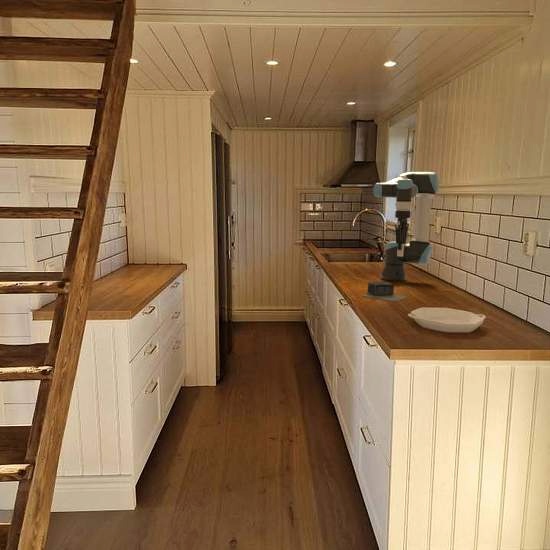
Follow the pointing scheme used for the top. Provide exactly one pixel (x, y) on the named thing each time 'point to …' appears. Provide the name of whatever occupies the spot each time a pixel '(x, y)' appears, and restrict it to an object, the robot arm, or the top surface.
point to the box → (380, 288)
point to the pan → (447, 319)
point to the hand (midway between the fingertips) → (400, 256)
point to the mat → (386, 297)
